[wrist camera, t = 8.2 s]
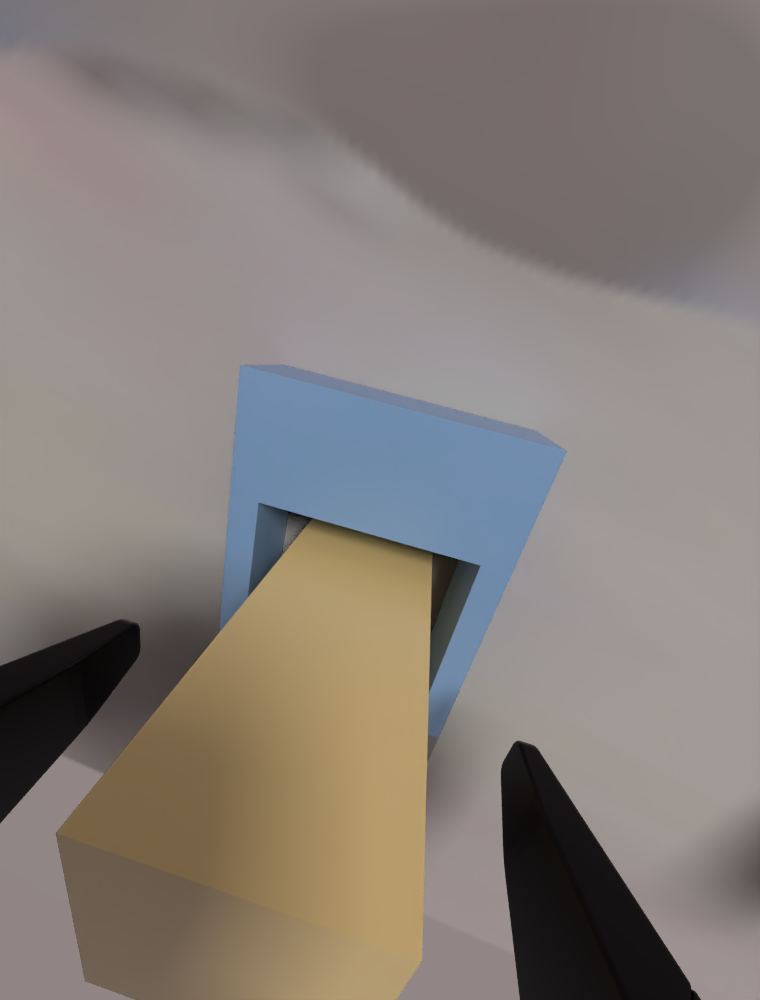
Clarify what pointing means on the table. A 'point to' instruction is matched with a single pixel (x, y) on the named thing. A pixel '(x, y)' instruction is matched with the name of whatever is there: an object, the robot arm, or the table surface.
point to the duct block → (386, 494)
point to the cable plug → (273, 796)
